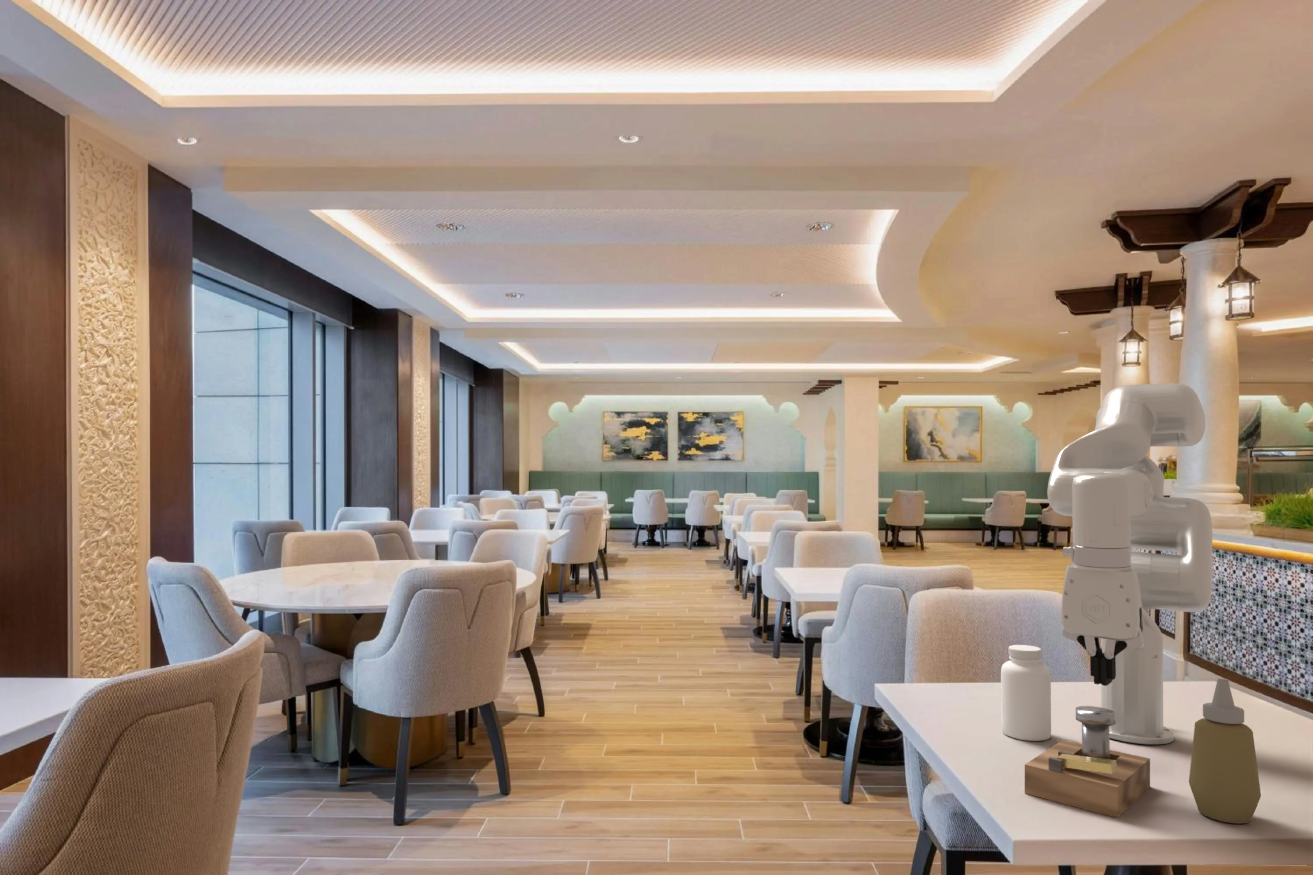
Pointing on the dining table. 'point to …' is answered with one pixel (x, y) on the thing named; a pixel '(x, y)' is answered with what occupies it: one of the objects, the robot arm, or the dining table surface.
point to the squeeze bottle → (1224, 761)
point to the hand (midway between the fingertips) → (1103, 682)
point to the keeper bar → (1088, 763)
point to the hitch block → (1087, 780)
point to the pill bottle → (1026, 695)
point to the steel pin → (1095, 730)
